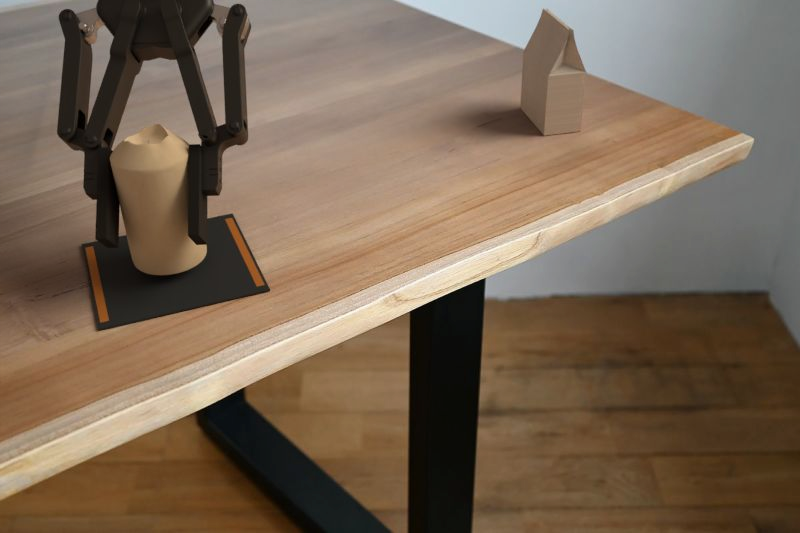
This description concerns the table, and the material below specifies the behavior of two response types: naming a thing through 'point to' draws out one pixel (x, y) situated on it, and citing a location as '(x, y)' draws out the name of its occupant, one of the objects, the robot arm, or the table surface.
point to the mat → (171, 278)
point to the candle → (156, 200)
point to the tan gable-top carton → (553, 78)
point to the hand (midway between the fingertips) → (152, 241)
